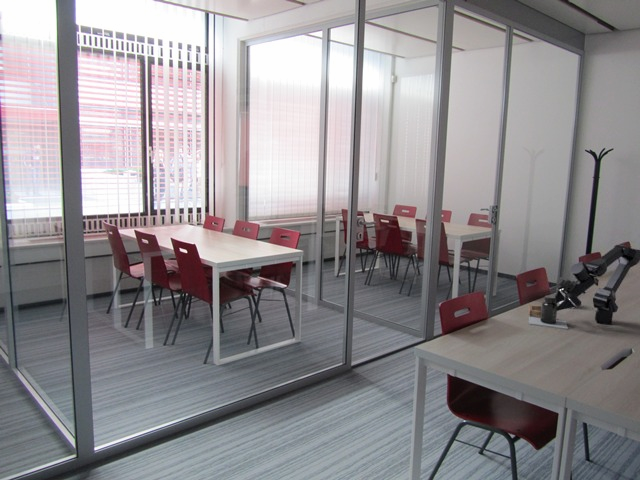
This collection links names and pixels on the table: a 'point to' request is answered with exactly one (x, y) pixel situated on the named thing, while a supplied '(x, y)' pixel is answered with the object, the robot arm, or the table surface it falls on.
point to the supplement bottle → (549, 310)
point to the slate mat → (557, 325)
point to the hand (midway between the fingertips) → (553, 307)
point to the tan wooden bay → (534, 311)
